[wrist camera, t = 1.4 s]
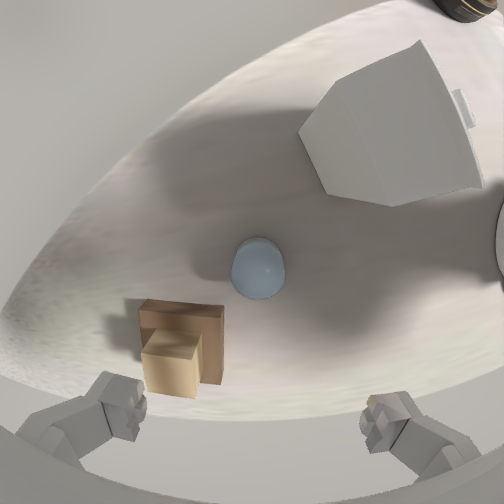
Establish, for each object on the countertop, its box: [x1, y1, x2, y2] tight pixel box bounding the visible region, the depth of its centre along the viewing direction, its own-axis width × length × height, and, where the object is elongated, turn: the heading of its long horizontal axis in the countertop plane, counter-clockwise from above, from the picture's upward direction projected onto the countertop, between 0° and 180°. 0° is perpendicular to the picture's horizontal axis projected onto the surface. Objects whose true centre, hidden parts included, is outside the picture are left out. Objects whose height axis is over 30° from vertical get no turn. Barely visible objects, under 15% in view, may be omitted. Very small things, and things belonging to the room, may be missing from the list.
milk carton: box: [298, 40, 485, 207], centre depth 18 cm, size 7×7×19 cm
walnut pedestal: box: [138, 299, 224, 385], centre depth 31 cm, size 9×9×3 cm
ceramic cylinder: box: [231, 237, 286, 300], centre depth 27 cm, size 5×5×5 cm
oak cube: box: [141, 328, 203, 399], centre depth 27 cm, size 5×5×5 cm
